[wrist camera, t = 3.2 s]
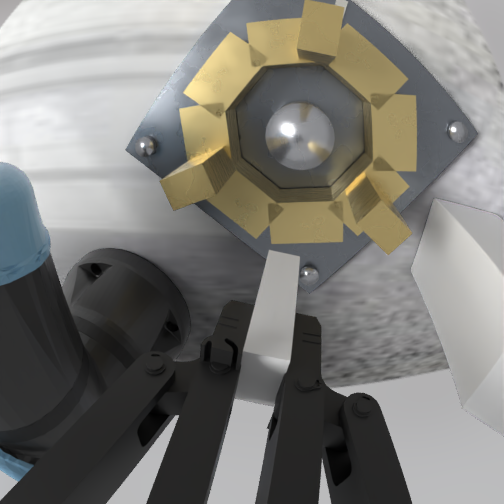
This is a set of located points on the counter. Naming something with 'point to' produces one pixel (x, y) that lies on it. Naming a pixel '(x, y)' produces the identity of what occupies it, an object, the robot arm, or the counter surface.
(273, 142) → the flange plate
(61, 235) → the counter surface
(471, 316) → the milk carton
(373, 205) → the gold foil sensor mount
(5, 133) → the counter surface
